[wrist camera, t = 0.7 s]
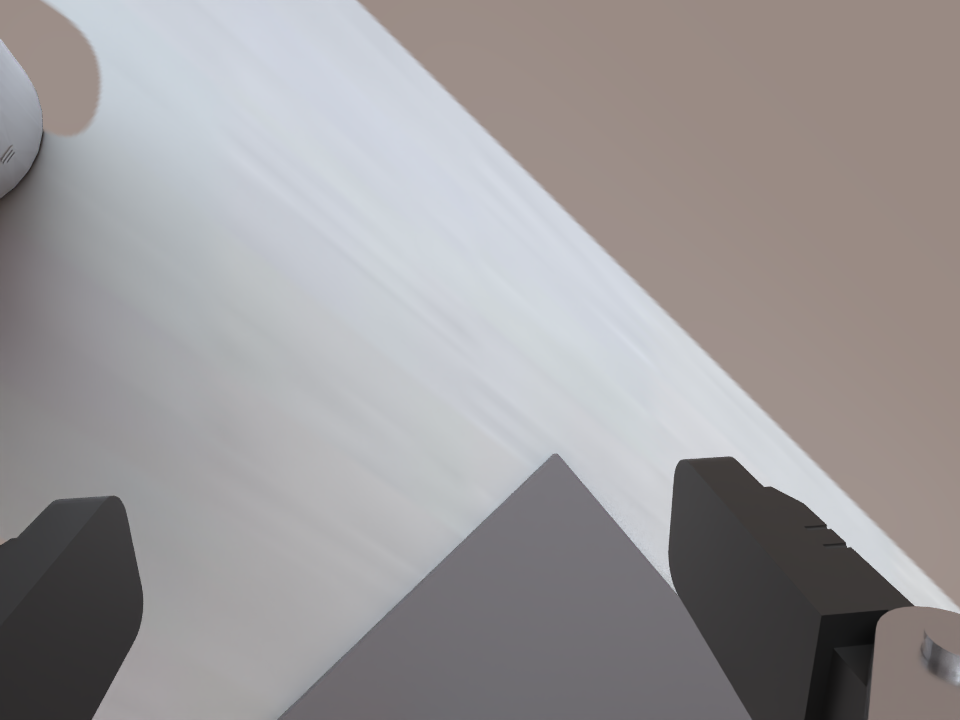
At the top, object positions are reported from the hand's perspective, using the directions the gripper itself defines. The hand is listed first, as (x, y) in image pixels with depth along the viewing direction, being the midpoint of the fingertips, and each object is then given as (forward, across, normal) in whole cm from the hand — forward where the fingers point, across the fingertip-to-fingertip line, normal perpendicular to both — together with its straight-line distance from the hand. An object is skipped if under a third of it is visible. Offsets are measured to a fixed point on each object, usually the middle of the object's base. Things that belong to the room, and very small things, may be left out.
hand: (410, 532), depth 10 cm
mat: (+16, -5, +21) cm, 27 cm away
